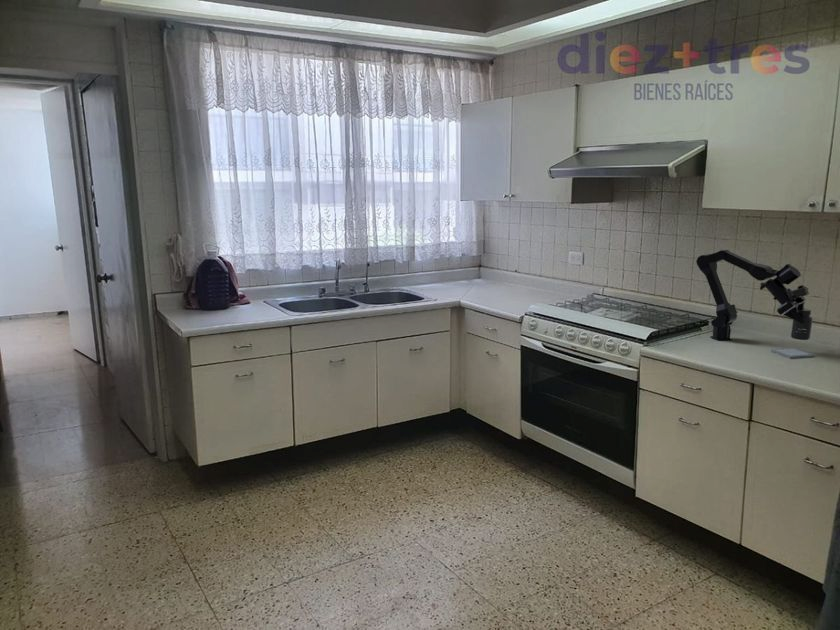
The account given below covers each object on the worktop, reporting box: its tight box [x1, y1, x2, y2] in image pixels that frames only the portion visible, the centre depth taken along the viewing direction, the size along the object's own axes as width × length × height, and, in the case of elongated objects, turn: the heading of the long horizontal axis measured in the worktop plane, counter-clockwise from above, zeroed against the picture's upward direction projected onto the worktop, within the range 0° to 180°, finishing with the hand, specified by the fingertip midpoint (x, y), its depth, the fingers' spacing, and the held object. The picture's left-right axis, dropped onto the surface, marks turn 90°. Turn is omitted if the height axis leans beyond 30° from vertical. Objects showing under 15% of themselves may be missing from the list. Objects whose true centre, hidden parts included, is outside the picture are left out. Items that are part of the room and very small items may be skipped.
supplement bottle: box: [790, 308, 813, 341], centre depth 254 cm, size 7×7×12 cm
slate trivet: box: [770, 347, 816, 360], centre depth 253 cm, size 11×11×1 cm
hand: (806, 321), depth 252 cm, fingers closed on supplement bottle, 7 cm apart
